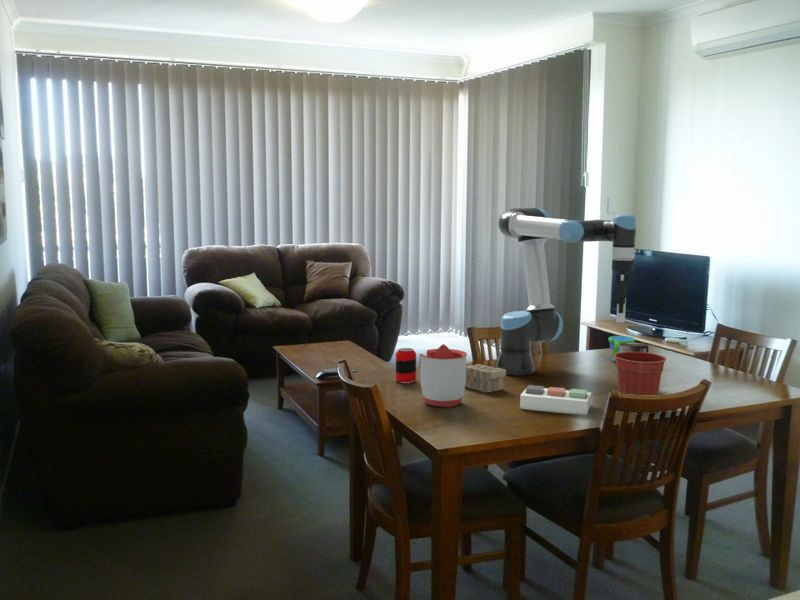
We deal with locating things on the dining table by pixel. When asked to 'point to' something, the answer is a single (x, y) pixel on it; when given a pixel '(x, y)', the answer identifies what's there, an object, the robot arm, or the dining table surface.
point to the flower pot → (639, 372)
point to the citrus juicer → (443, 376)
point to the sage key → (578, 393)
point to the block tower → (484, 377)
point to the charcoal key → (535, 389)
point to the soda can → (405, 365)
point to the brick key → (556, 391)
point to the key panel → (555, 403)
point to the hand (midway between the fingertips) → (620, 319)
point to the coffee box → (633, 347)
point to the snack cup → (615, 344)
